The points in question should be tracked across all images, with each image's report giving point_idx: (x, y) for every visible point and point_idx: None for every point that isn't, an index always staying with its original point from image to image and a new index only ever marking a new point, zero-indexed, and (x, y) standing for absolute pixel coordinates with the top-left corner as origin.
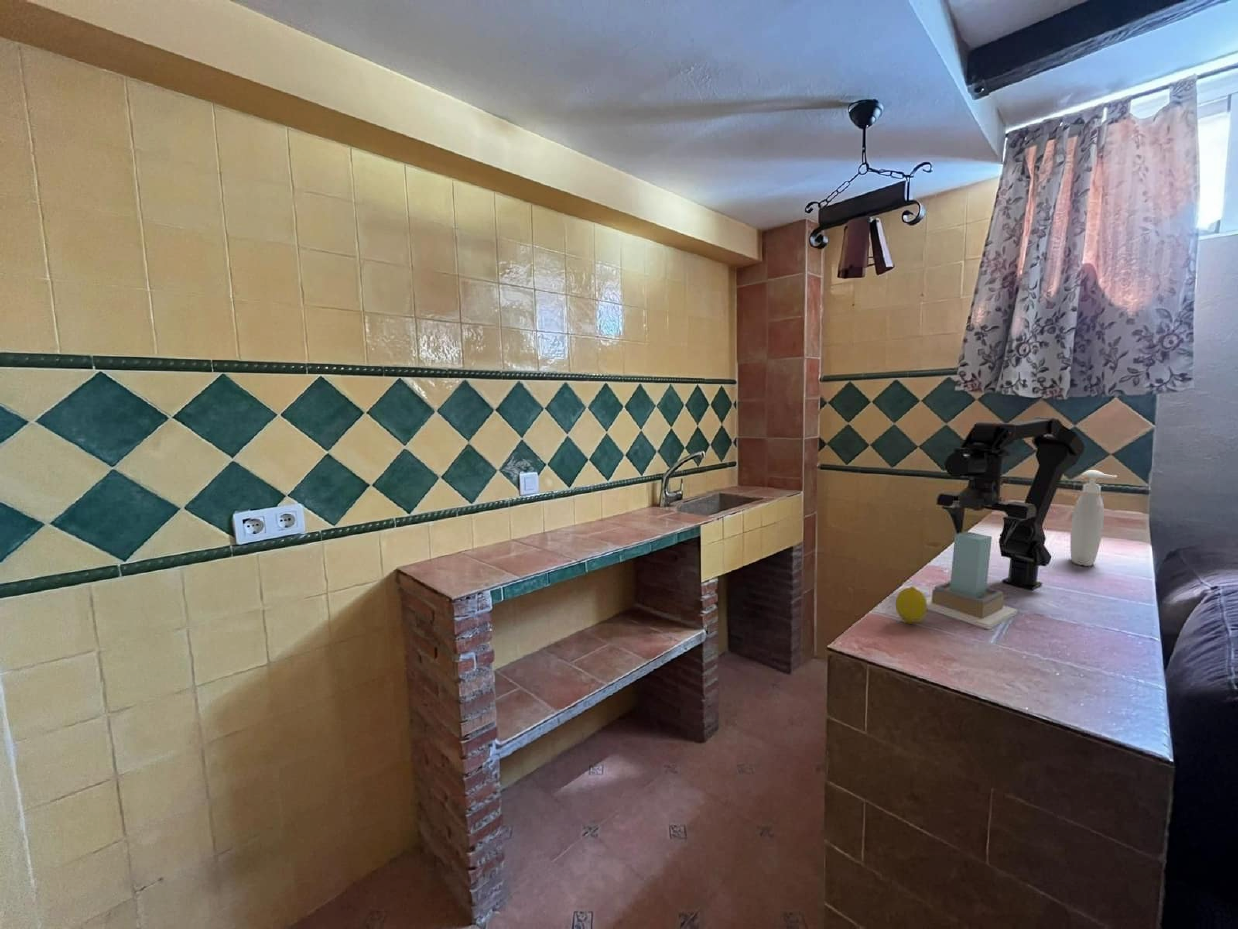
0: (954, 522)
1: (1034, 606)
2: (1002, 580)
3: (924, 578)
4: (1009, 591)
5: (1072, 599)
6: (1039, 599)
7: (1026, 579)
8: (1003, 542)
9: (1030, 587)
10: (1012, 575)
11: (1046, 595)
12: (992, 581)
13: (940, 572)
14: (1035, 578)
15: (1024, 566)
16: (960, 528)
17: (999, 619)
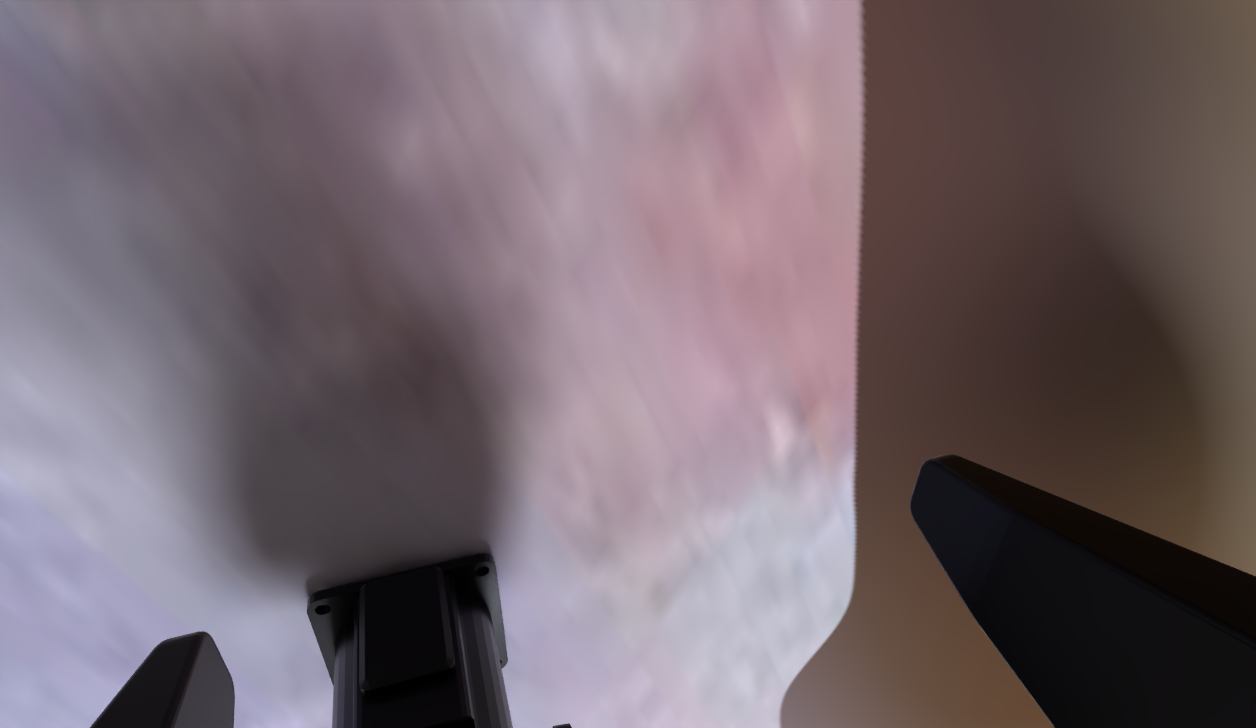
0: (1243, 585)
1: (13, 318)
2: (490, 561)
3: (830, 153)
4: (359, 452)
5: (76, 671)
6: (148, 493)
7: (355, 641)
8: (128, 686)
9: (318, 602)
10: (431, 610)
11: (199, 595)
12: (530, 517)
13: (794, 378)
14: (333, 694)
15: (371, 719)
16: (1013, 577)
17: None
